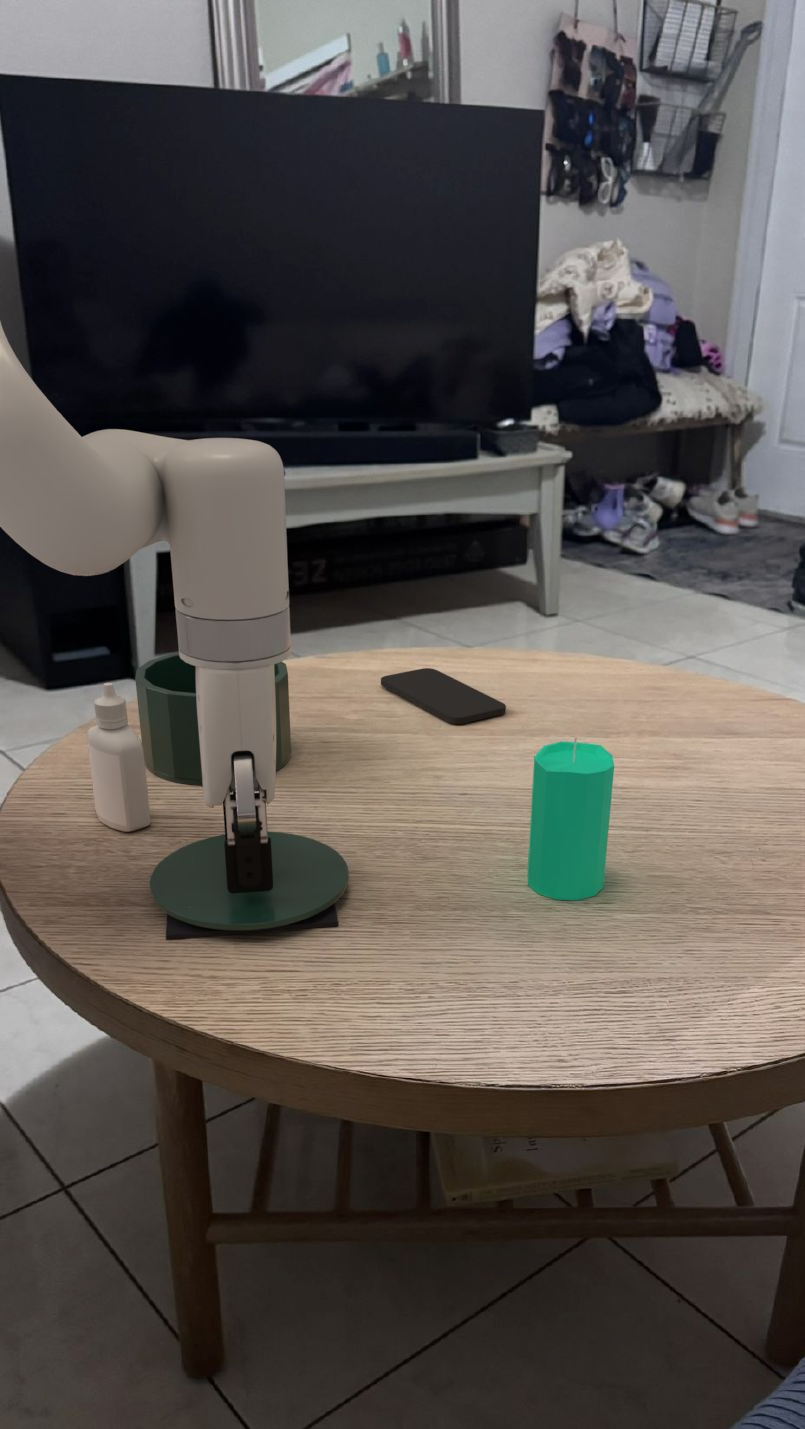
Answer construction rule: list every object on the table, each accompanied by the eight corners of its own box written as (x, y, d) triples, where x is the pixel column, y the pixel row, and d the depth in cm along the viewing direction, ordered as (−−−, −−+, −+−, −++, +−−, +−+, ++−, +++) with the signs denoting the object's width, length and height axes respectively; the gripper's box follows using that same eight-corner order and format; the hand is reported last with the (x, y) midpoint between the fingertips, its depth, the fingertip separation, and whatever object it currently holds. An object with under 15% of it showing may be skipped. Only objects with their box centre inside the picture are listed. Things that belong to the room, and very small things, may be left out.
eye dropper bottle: (96, 837, 95) (79, 697, 89) (95, 808, 100) (78, 674, 94) (152, 831, 96) (137, 693, 91) (148, 803, 101) (134, 671, 95)
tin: (141, 789, 103) (132, 698, 100) (147, 733, 115) (139, 651, 112) (295, 781, 106) (291, 692, 102) (285, 727, 118) (282, 646, 114)
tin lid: (146, 946, 79) (138, 867, 77) (154, 849, 92) (147, 779, 90) (359, 929, 82) (358, 852, 80) (338, 837, 95) (336, 769, 92)
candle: (561, 856, 94) (571, 716, 89) (619, 883, 90) (633, 739, 85) (510, 880, 90) (517, 735, 85) (568, 909, 86) (580, 759, 81)
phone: (453, 719, 119) (376, 677, 130) (453, 727, 119) (376, 684, 130) (511, 706, 123) (430, 666, 134) (510, 713, 123) (430, 673, 134)
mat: (166, 940, 81) (165, 935, 81) (170, 860, 91) (169, 856, 91) (338, 926, 83) (338, 921, 83) (323, 850, 94) (323, 846, 94)
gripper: (179, 599, 85) (197, 818, 93) (174, 675, 70) (196, 929, 78) (282, 597, 87) (291, 812, 95) (299, 671, 72) (308, 920, 80)
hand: (248, 863), depth 86 cm, fingers open, 7 cm apart
